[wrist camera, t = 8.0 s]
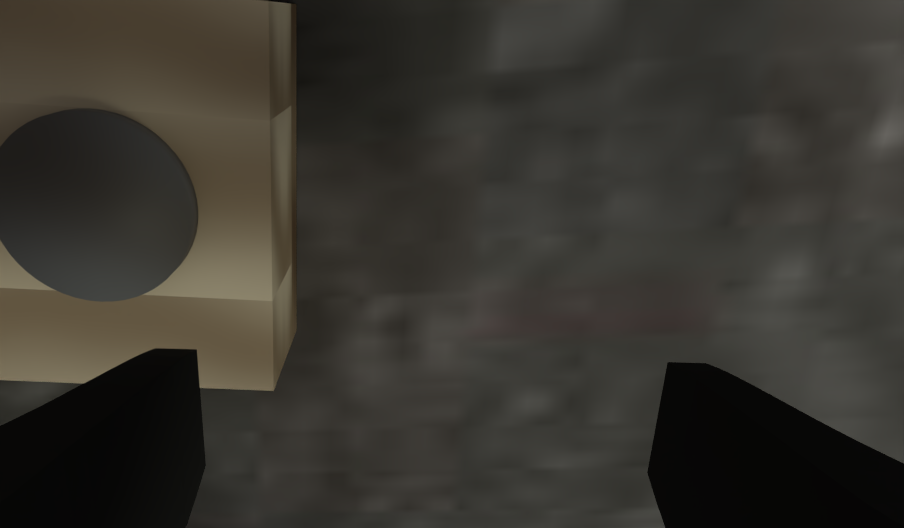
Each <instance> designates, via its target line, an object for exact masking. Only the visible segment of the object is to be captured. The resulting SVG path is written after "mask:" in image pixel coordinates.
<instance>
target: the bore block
mask: <svg viewBox="0 0 904 528" xmlns="http://www.w3.org/2000/svg"><path fill="white" fill-rule="evenodd" d="M296 330H297V252H296V4H290V3H282V2H273V1H262V0H0V380H13V381H38V382H64V383H86V382H88V381H90V380H91V379H93V378H95V377H97V376H99V375H101V374H103V373H105V372H106V371H108V370H110V369H112V368H114V367H116V366H118V365H120V364H122V363H124V362H125V361H127V360H129V359H131V358H133V357H136V356H138V355H140V354H142V353H144V352H147V351H149V350H152V349H154V348H165V349H197V358H198V371H199V384H200V388H217V389H242V390H267V391H274V388H275V386H276V383H277V380H278V378H279V375H280V372H281V370H282V367H283V364H284V362H285V359H286V356H287V354H288V351H289V348H290V346H291V343H292V340H293V338H294V335H295V332H296Z"/></svg>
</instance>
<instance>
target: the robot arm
mask: <svg viewBox="0 0 904 528" xmlns="http://www.w3.org/2000/svg"><path fill="white" fill-rule="evenodd" d="M205 466H206V464H205V451H204V437H203V424H202V411H201V397H200V384H199V371H198V358H197V349H165V348H154V349H152V350H149V351H147V352H144V353H142V354H140V355H138V356H136V357H133V358H131V359H129V360H127V361H125V362H124V363H122V364H120V365H118V366H116V367H114V368H112V369H110V370H108V371H106V372H105V373H103V374H101V375H99V376H97V377H95V378H93V379H91V380H90V381H88V382H86V383H84V384H82V385H80V386H78V387H76V388H75V389H73V390H71V391H69V392H67V393H65V394H63V395H61V396H59V397H58V398H56V399H54V400H52V401H50V402H48V403H46V404H44V405H42V406H40V407H38V408H36V409H34V410H32V411H30V412H28V413H26V414H24V415H22V416H20V417H18V418H16V419H14V420H12V421H10V422H8V423H6V424H4V425H1V426H0V528H185V527H186V525H187V522H188V519H189V516H190V513H191V510H192V507H193V504H194V501H195V498H196V495H197V492H198V489H199V485H200V482H201V479H202V476H203V472H204V469H205ZM647 473H648V476H649V479H650V482H651V486H652V489H653V492H654V495H655V498H656V502H657V505H658V508H659V510H660V513H661V516H662V519H663V522H664V525H665V528H904V464H903V463H901V462H899V461H897V460H895V459H893V458H891V457H889V456H887V455H885V454H883V453H881V452H879V451H877V450H875V449H873V448H870V447H868V446H866V445H864V444H862V443H860V442H858V441H856V440H854V439H852V438H850V437H848V436H846V435H845V434H843V433H841V432H839V431H837V430H835V429H833V428H831V427H829V426H827V425H825V424H823V423H822V422H820V421H818V420H816V419H814V418H812V417H810V416H808V415H807V414H805V413H803V412H801V411H799V410H797V409H796V408H794V407H792V406H790V405H788V404H786V403H785V402H783V401H781V400H779V399H777V398H775V397H773V396H772V395H770V394H768V393H766V392H764V391H762V390H761V389H759V388H757V387H755V386H753V385H751V384H749V383H748V382H746V381H744V380H742V379H740V378H738V377H736V376H734V375H732V374H730V373H728V372H726V371H723V370H721V369H719V368H717V367H714V366H711V365H709V364H706V363H673V362H668V364H667V369H666V375H665V380H664V386H663V391H662V396H661V402H660V407H659V413H658V418H657V424H656V429H655V434H654V440H653V445H652V451H651V456H650V462H649V467H648V472H647Z"/></svg>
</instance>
